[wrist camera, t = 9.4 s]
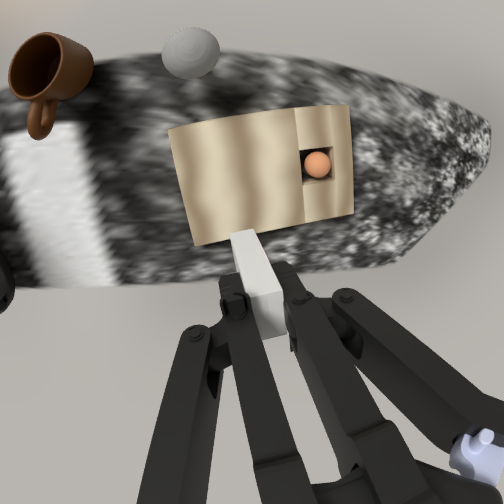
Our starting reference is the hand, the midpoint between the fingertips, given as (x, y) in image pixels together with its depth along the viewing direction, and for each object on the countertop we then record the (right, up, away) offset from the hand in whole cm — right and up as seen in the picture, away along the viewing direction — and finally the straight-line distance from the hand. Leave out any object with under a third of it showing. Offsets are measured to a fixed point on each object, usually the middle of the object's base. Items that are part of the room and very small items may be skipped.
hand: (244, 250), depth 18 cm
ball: (+9, +11, +17) cm, 22 cm away
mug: (-22, +20, +8) cm, 31 cm away
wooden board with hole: (+2, +10, +18) cm, 21 cm away
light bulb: (-7, +22, +10) cm, 25 cm away
